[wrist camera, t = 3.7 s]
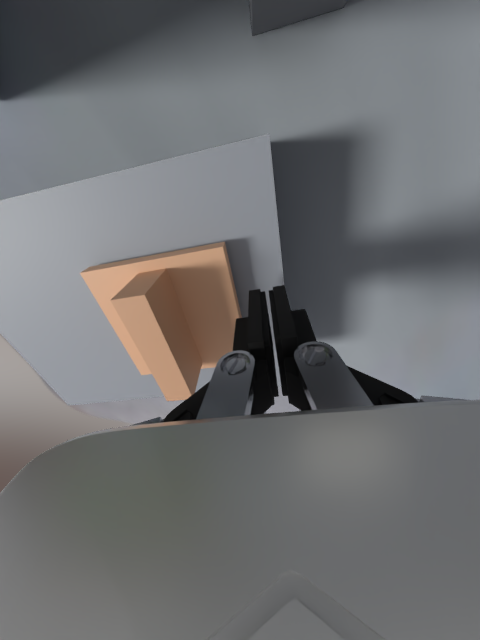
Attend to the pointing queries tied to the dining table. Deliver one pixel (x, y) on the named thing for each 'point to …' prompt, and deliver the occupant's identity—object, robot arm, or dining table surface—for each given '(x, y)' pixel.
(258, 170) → the socket block
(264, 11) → the plug
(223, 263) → the shutter
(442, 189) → the dining table surface
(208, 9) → the dining table surface
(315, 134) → the dining table surface
